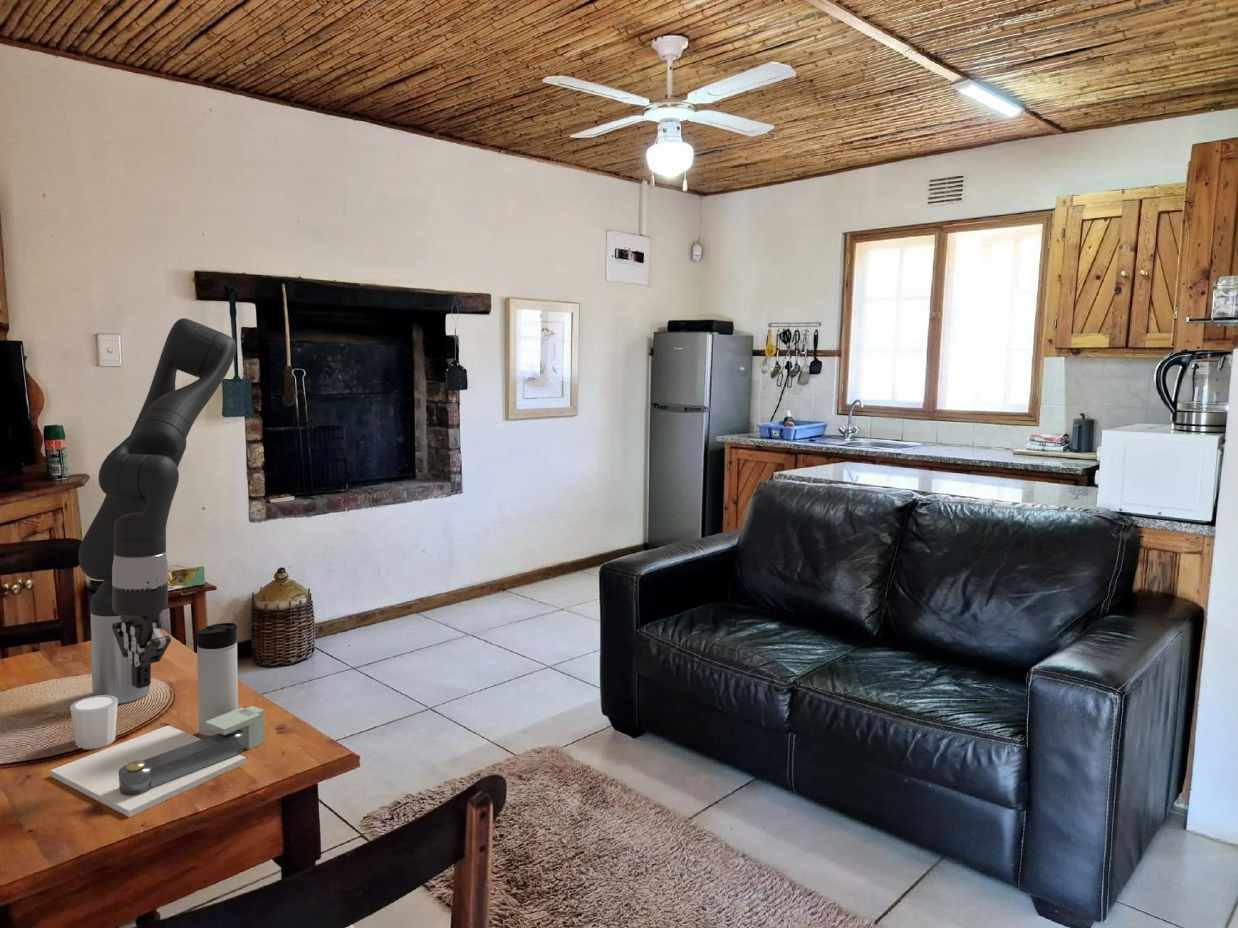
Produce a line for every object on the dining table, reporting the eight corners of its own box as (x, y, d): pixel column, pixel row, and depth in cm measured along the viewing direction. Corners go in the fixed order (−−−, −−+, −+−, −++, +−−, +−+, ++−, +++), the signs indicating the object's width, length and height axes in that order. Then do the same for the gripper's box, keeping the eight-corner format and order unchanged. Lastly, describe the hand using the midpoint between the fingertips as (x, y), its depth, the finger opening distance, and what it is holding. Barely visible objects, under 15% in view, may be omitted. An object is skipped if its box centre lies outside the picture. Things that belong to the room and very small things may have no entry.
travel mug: (224, 744, 139) (222, 632, 137) (190, 739, 140) (188, 628, 138) (247, 728, 145) (246, 621, 143) (215, 723, 147) (213, 617, 144)
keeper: (205, 755, 135) (205, 721, 134) (249, 736, 142) (248, 704, 142) (224, 763, 133) (224, 729, 132) (268, 744, 140) (267, 711, 139)
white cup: (113, 728, 143) (112, 691, 142) (124, 742, 138) (122, 703, 137) (67, 740, 138) (65, 701, 137) (76, 755, 134) (75, 714, 133)
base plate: (50, 776, 127) (50, 770, 127) (168, 730, 143) (168, 725, 143) (129, 817, 117) (129, 810, 117) (245, 763, 133) (245, 757, 133)
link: (127, 798, 119) (126, 774, 119) (113, 788, 122) (113, 765, 121) (249, 751, 135) (248, 730, 134) (234, 743, 137) (234, 722, 137)
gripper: (92, 577, 127) (94, 682, 129) (139, 593, 120) (140, 704, 122) (141, 568, 133) (142, 669, 135) (188, 583, 127) (188, 689, 129)
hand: (141, 685), depth 129 cm, fingers closed
